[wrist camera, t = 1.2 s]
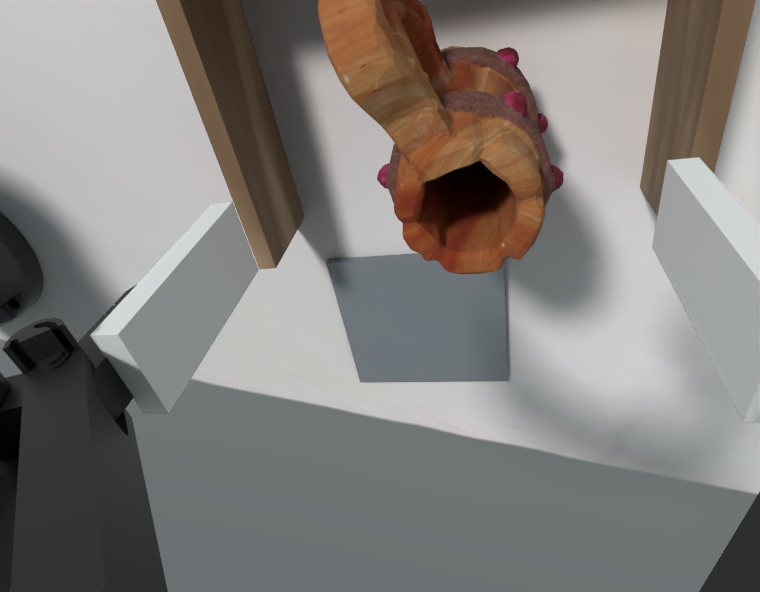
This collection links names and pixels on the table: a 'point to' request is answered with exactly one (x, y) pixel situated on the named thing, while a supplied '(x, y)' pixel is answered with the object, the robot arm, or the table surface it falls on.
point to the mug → (446, 133)
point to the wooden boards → (267, 156)
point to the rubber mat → (421, 319)
